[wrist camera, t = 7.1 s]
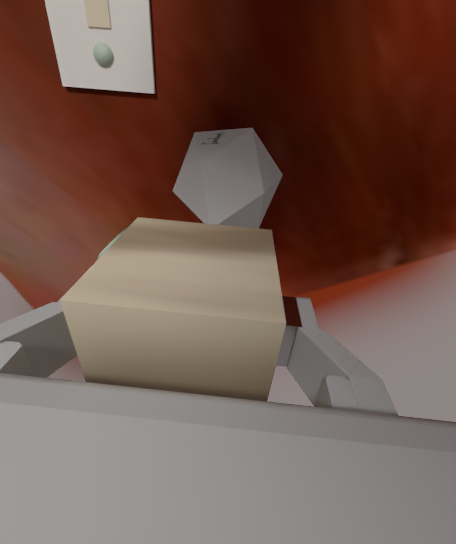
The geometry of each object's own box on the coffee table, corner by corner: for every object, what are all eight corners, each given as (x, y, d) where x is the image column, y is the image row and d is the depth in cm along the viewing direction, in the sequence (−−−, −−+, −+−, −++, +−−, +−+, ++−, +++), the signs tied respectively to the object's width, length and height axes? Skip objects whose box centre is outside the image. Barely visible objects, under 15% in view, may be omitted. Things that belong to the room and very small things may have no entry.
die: (293, 151, 26) (263, 92, 18) (281, 242, 27) (245, 228, 18) (217, 155, 30) (159, 106, 21) (207, 235, 30) (147, 220, 21)
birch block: (137, 217, 10) (59, 300, 6) (271, 229, 10) (286, 323, 6) (148, 318, 13) (99, 424, 9) (255, 328, 13) (256, 441, 9)
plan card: (28, -91, 19) (23, -94, 18) (144, -83, 19) (142, -87, 18) (64, 86, 24) (62, 86, 24) (155, 93, 24) (154, 93, 24)
